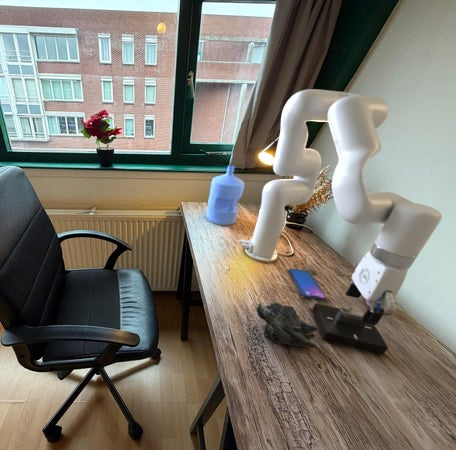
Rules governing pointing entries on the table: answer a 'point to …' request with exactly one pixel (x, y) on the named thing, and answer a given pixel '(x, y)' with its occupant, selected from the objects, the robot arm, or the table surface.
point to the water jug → (224, 198)
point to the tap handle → (350, 318)
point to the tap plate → (347, 331)
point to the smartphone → (307, 284)
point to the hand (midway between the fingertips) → (359, 308)
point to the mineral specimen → (285, 325)
